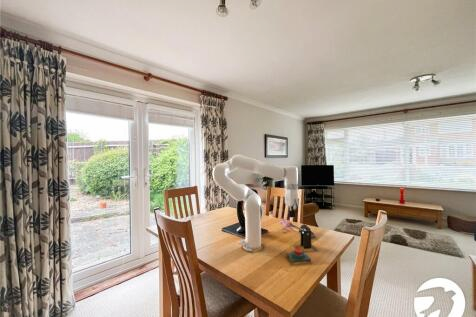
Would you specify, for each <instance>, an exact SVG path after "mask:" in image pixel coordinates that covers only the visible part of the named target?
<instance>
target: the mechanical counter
mask: <svg viewBox="0 0 476 317" xmlns="http://www.w3.org/2000/svg"><path fill="white" fill-rule="evenodd" d="M299 228H308V230H311V228H310V227H309V226H308V225H307V224H301V225H300V227H299ZM298 233H301V231H300V230H299V229H298ZM316 238H317V236H316V235H315V233H314V232H313V231H312V230H311V239H316Z"/></svg>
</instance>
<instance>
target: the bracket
mask: <svg viewBox="0 0 476 317" xmlns="http://www.w3.org/2000/svg"><path fill="white" fill-rule="evenodd" d="M301 229H303V233H302V231H301V232H300V246H302V247H303V249H305V250H307V249H312V238H311V235H312V233H311V231H312V230H308V228H301ZM304 229H305V230H304Z"/></svg>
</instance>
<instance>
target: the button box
mask: <svg viewBox="0 0 476 317" xmlns="http://www.w3.org/2000/svg"><path fill="white" fill-rule="evenodd" d="M286 256H287V257H288V259H289V260H290V261H291V263H302V262H303V263H304V262H312V260H311V258H310V256H308V254H307V253H306V252H305V251H303V250H302V254H301V255H297V254H295V249H294V250H292V251H291V252H288V253H286Z"/></svg>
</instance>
